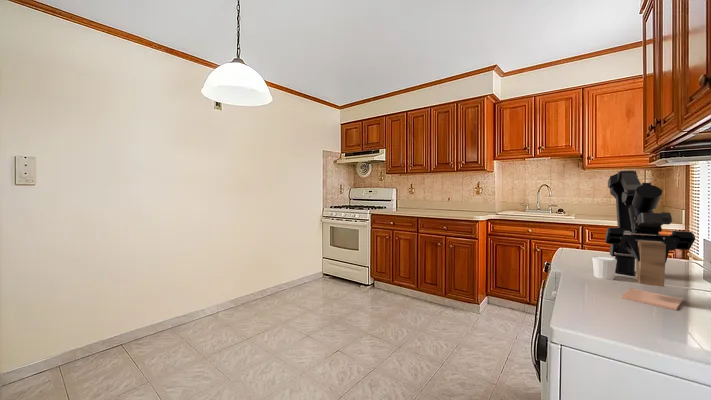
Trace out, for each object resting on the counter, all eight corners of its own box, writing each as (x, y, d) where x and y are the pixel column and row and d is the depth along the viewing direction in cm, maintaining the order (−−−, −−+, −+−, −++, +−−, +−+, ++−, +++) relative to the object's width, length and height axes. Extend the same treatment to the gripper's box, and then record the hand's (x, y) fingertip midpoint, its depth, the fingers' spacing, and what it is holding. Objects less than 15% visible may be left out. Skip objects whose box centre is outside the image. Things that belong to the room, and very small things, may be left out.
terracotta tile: (631, 290, 93) (631, 288, 93) (682, 300, 84) (682, 298, 84) (621, 297, 87) (621, 295, 87) (676, 310, 78) (676, 308, 78)
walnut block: (635, 279, 89) (637, 240, 89) (658, 282, 87) (660, 241, 86) (639, 283, 85) (641, 242, 85) (664, 286, 82) (665, 244, 82)
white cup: (621, 280, 104) (622, 260, 103) (602, 279, 104) (602, 260, 104) (605, 274, 111) (606, 256, 110) (587, 274, 111) (587, 255, 110)
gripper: (607, 201, 93) (613, 242, 84) (694, 203, 83) (710, 249, 74) (603, 223, 100) (607, 263, 91) (682, 227, 90) (695, 272, 81)
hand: (651, 261), depth 84 cm, fingers closed on walnut block, 5 cm apart
